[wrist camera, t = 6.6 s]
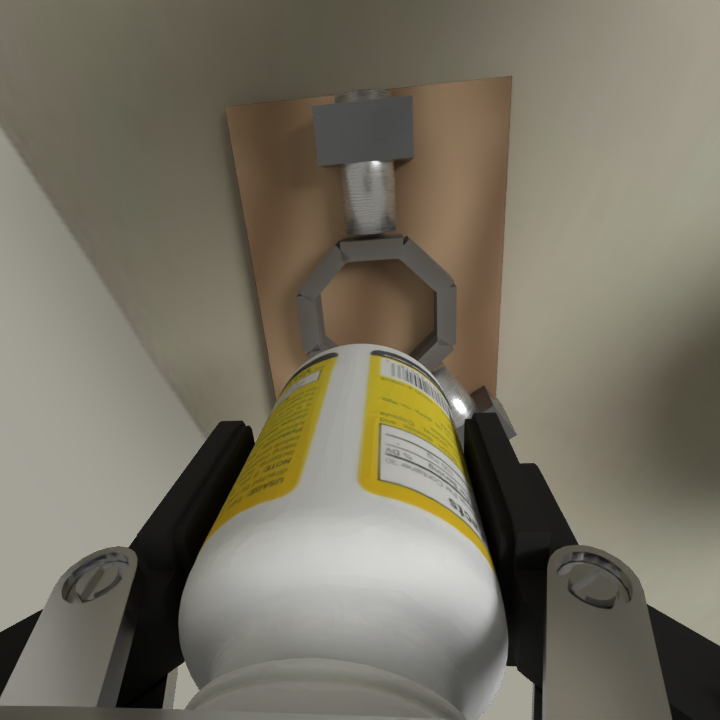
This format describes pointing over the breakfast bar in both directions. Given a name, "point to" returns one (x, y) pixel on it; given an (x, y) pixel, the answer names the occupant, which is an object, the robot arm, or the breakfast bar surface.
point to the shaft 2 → (469, 402)
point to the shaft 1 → (365, 153)
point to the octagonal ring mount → (381, 234)
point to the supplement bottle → (349, 557)
